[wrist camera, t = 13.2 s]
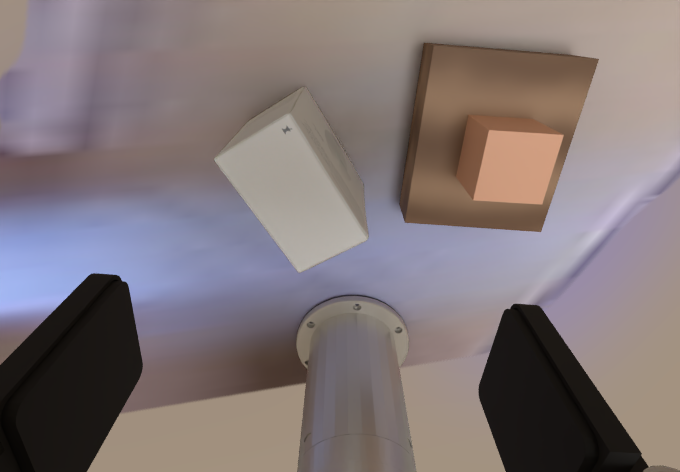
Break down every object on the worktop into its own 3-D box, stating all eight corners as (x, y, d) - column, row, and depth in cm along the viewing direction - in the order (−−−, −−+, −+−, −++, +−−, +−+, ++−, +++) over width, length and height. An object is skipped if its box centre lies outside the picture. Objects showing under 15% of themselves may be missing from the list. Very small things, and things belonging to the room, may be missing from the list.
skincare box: (243, 123, 36) (208, 159, 27) (305, 84, 35) (292, 108, 25) (307, 218, 40) (296, 277, 31) (365, 186, 39) (373, 239, 29)
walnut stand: (523, 213, 40) (540, 232, 36) (399, 204, 39) (405, 222, 36) (571, 54, 33) (598, 59, 30) (424, 42, 33) (433, 45, 29)
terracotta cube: (516, 180, 34) (542, 204, 30) (455, 176, 34) (473, 200, 30) (532, 118, 32) (563, 134, 27) (468, 114, 32) (489, 130, 27)
